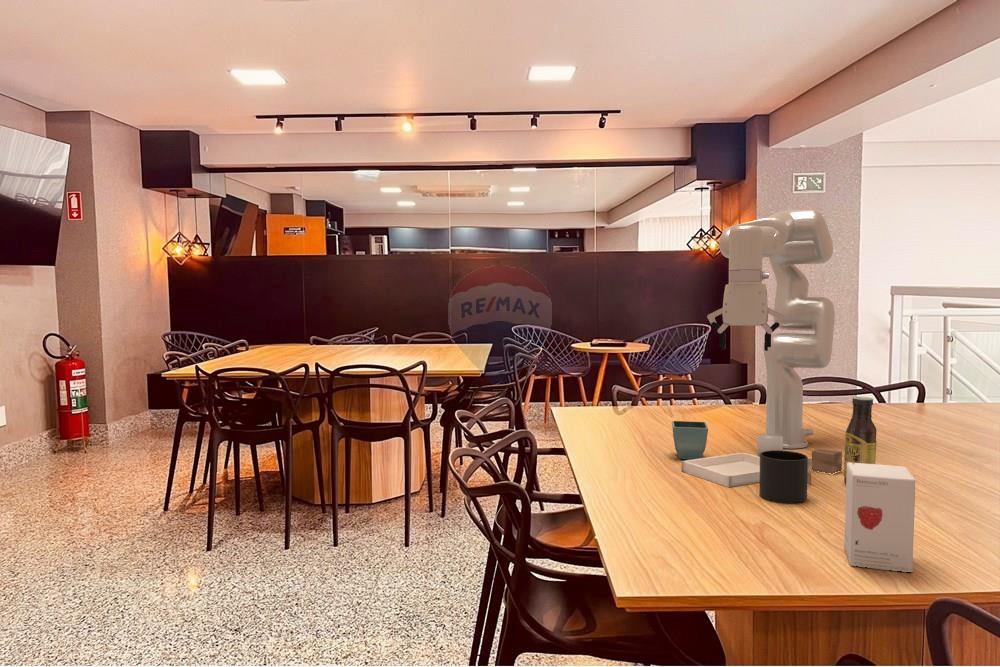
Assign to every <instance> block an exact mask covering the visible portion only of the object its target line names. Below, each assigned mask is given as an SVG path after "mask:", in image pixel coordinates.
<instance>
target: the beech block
mask: <svg viewBox="0 0 1000 667" xmlns="http://www.w3.org/2000/svg"><path fill="white" fill-rule="evenodd" d="M807 457H808V477H807V484H811V485H812V457H809V456H807Z"/></svg>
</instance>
